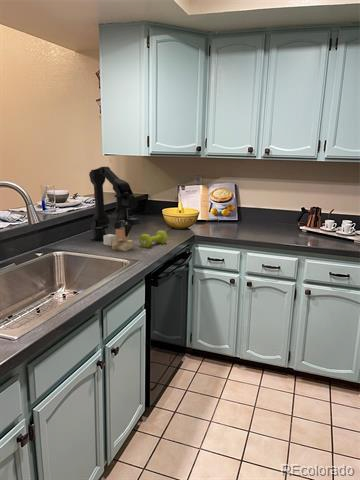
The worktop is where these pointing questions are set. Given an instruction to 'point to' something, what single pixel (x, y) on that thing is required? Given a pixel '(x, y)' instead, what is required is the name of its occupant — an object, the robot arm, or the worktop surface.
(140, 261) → the worktop surface
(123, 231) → the terracotta cube
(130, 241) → the oak base block
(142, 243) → the dumbbell
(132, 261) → the worktop surface
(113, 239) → the offwhite cube
